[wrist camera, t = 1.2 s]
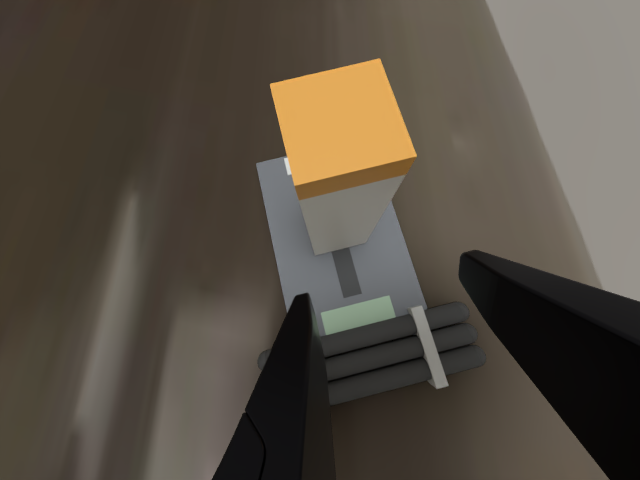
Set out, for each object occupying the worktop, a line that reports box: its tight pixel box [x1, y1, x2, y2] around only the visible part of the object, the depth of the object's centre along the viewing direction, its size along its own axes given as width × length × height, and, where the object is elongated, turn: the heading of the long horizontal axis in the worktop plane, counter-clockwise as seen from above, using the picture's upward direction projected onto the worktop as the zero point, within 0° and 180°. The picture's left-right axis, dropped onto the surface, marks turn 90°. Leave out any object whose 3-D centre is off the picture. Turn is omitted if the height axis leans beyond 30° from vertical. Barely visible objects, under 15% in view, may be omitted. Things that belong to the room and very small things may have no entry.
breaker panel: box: [256, 156, 427, 337], centre depth 21 cm, size 15×10×1 cm, turn 14°
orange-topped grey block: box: [270, 59, 417, 255], centre depth 15 cm, size 4×4×12 cm
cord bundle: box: [258, 302, 486, 406], centre depth 18 cm, size 15×5×2 cm, turn 104°
